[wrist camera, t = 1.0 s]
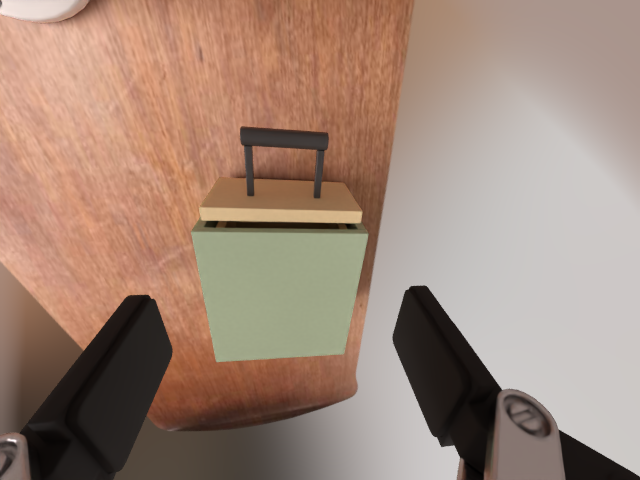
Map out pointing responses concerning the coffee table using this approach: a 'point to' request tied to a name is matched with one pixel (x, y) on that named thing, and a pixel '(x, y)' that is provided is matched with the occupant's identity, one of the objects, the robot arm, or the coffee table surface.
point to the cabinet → (278, 288)
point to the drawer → (280, 190)
